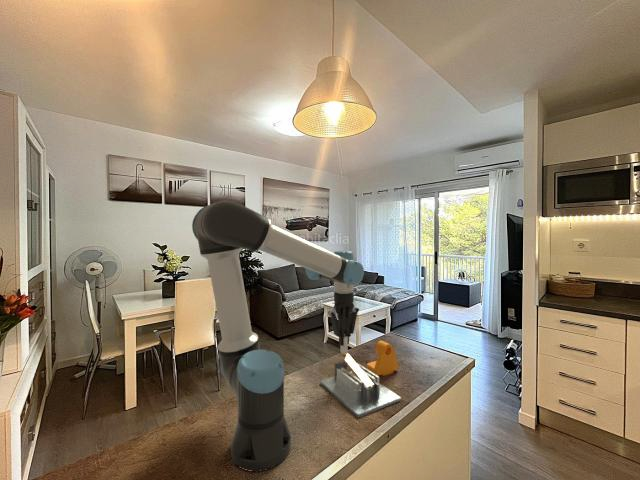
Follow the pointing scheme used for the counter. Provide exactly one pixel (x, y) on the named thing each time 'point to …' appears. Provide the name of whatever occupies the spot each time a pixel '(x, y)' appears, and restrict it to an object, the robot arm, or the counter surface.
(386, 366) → the bracket
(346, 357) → the strap
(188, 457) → the counter surface
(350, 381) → the heatsink
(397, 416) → the counter surface
